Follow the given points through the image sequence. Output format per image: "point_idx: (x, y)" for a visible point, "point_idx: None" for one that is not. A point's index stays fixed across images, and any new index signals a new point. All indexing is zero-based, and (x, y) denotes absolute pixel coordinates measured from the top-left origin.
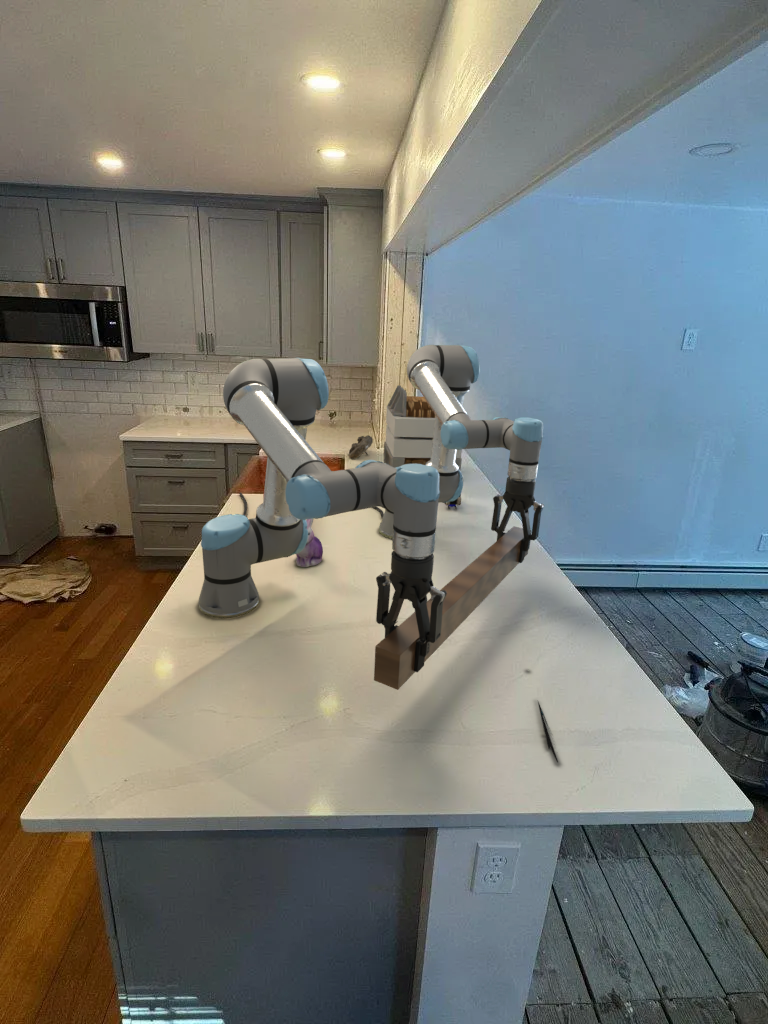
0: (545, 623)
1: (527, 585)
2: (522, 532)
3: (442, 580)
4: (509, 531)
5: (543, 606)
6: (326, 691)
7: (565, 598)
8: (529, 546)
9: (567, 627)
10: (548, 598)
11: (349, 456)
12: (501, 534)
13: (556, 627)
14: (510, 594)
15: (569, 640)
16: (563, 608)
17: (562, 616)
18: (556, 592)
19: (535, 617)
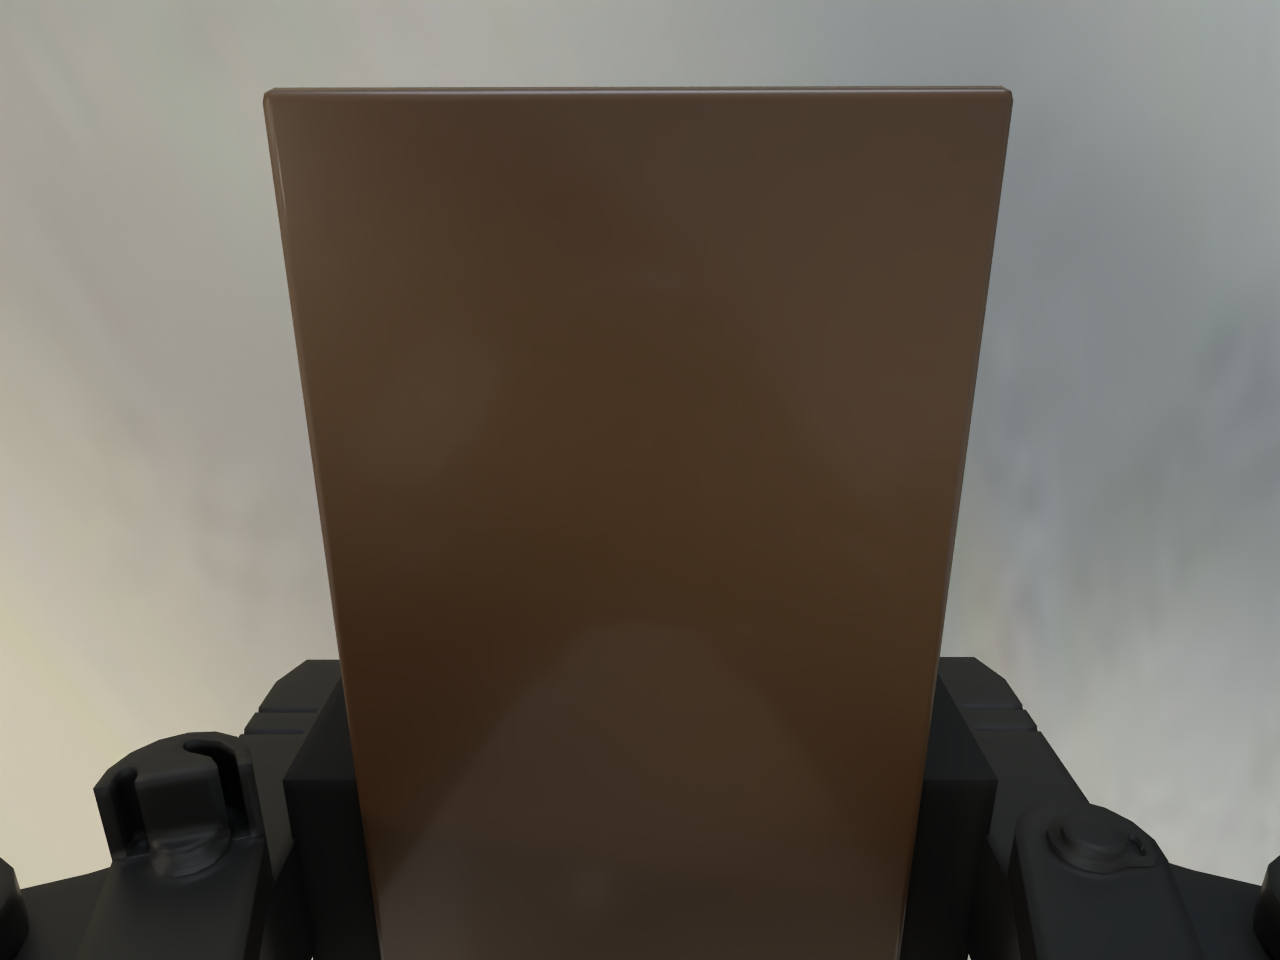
0: (1079, 695)
1: (774, 62)
2: (778, 534)
3: (14, 510)
4: (392, 697)
5: (1023, 437)
6: None
7: (1223, 124)
8: (1026, 724)
9: (1254, 657)
10: (1047, 241)
11: None
12: (311, 952)
13: (1168, 702)
14: None
15: (1272, 809)
16: (1210, 363)
17: (1207, 514)
18: (1115, 30)
19: (989, 654)
